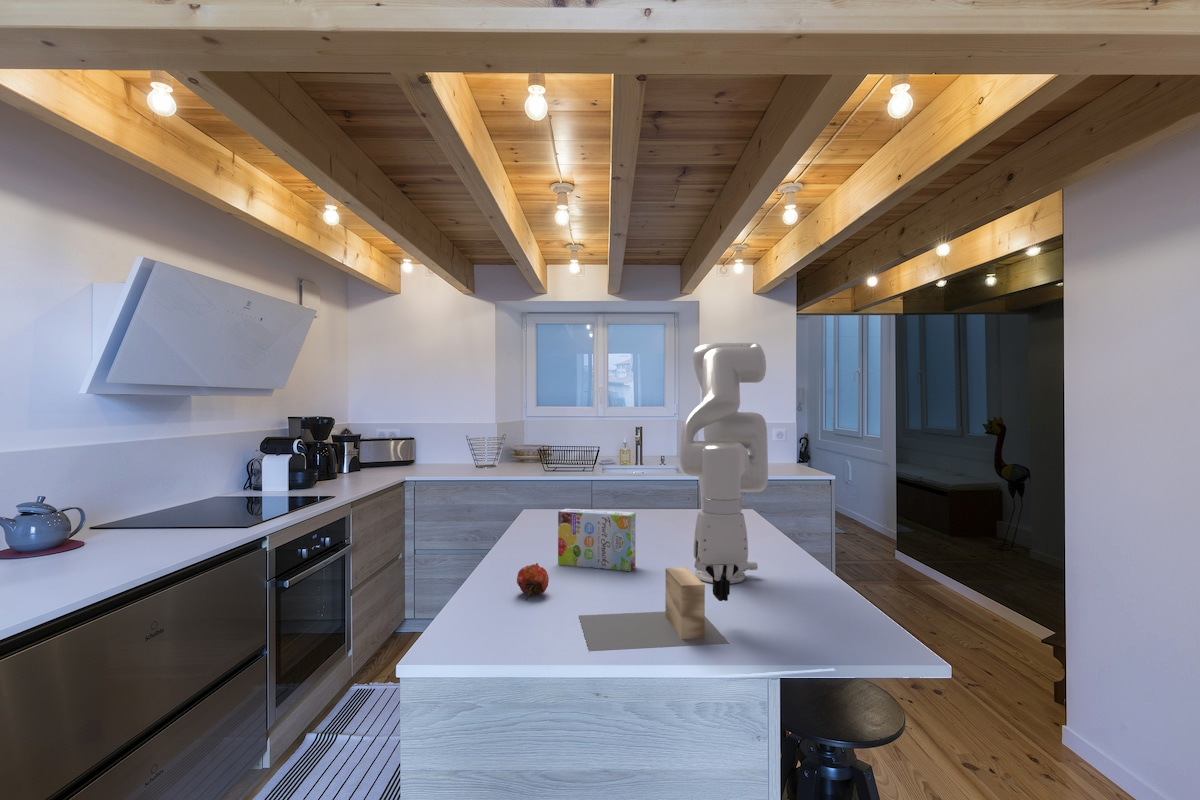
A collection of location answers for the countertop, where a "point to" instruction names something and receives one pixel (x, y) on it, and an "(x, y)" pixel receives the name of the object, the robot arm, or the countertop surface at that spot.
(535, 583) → the pomegranate
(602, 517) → the snack box
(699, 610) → the slab
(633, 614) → the mat
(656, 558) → the countertop surface
